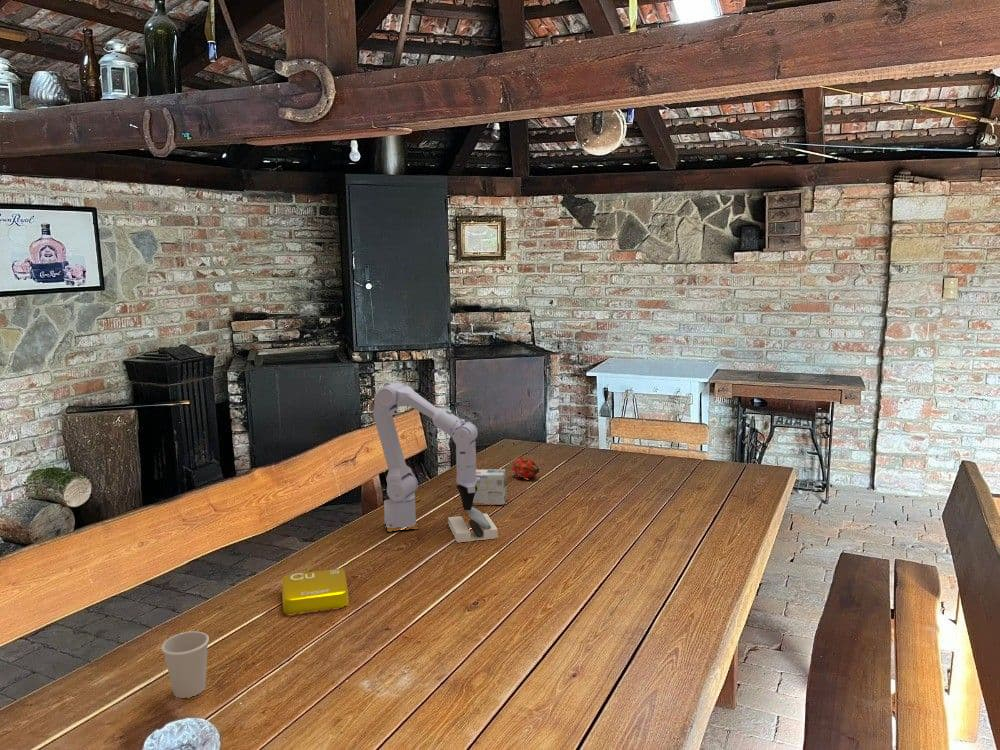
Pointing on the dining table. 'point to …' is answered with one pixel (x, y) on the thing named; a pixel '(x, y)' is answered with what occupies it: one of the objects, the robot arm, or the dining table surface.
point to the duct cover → (478, 517)
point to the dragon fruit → (524, 468)
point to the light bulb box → (490, 487)
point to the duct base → (464, 533)
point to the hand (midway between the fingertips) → (467, 509)
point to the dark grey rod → (475, 528)
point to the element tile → (314, 591)
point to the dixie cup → (187, 662)
